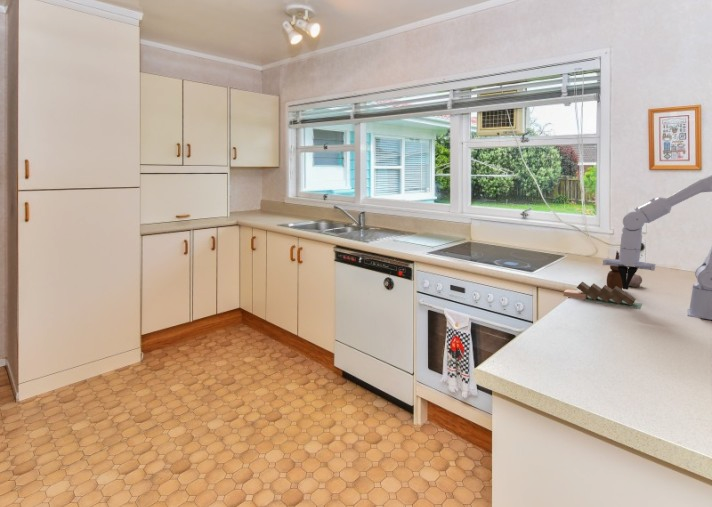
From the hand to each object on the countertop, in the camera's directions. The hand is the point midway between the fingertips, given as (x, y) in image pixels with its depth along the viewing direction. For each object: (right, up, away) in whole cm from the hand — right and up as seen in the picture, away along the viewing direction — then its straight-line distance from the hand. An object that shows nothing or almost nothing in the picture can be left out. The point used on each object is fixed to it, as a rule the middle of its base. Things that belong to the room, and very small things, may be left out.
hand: (625, 288), depth 144 cm
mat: (-3, -5, +3) cm, 6 cm away
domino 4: (+2, -4, -1) cm, 5 cm away
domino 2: (-3, -4, +3) cm, 6 cm away
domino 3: (-1, -4, +1) cm, 4 cm away
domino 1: (-6, -3, +5) cm, 9 cm away
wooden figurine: (+8, -2, +20) cm, 21 cm away
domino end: (-9, -3, +7) cm, 12 cm away
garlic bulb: (+19, -1, +28) cm, 34 cm away
